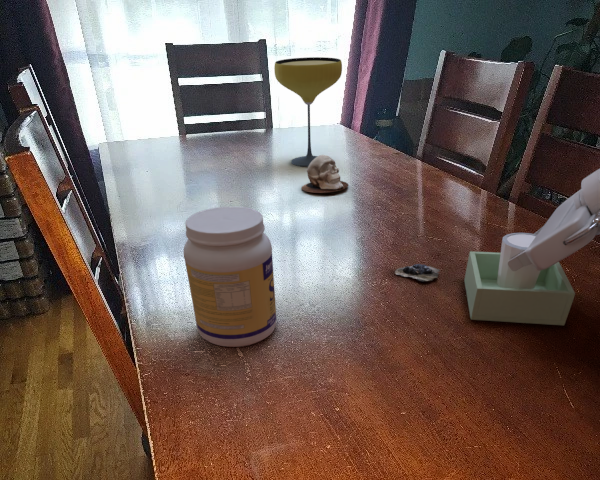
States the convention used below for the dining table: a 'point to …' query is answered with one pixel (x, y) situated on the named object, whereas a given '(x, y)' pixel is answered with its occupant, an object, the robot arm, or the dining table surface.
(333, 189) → the skull
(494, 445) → the dining table surface
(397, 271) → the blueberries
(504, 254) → the white cylinder
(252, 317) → the supplement tub
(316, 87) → the cocktail glass
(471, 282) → the bin
